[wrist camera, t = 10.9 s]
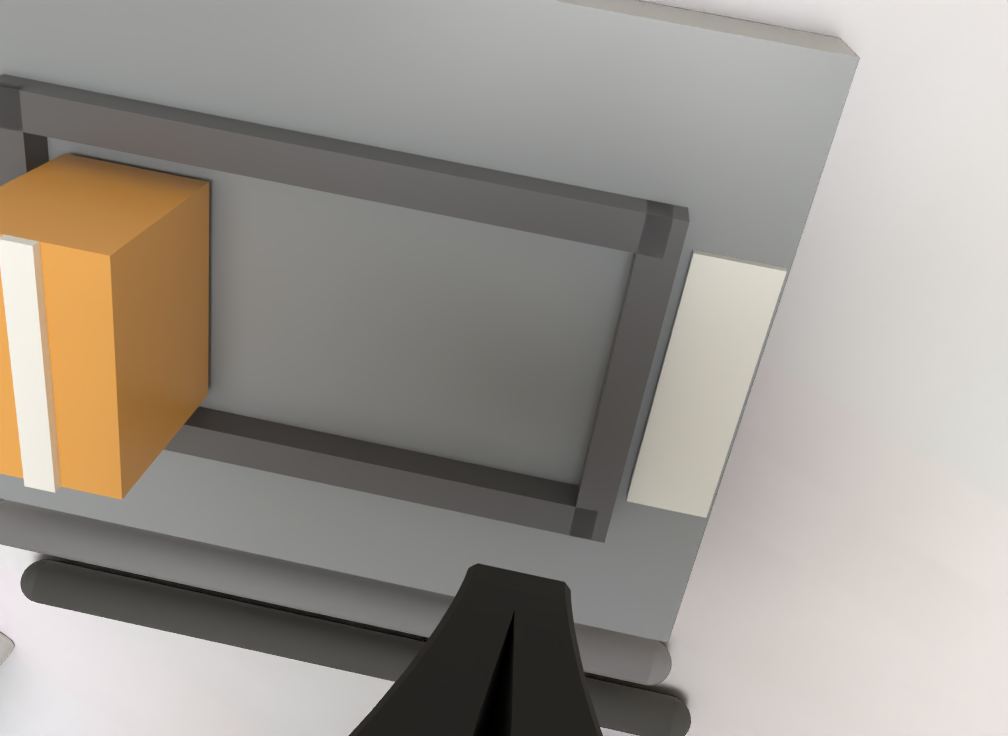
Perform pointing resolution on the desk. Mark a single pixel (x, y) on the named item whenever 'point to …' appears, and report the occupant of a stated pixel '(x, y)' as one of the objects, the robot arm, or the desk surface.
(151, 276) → the lever
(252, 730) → the desk surface
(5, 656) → the light bulb box
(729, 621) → the desk surface
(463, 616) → the robot arm
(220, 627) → the dark gray parallel rods
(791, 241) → the breaker panel
